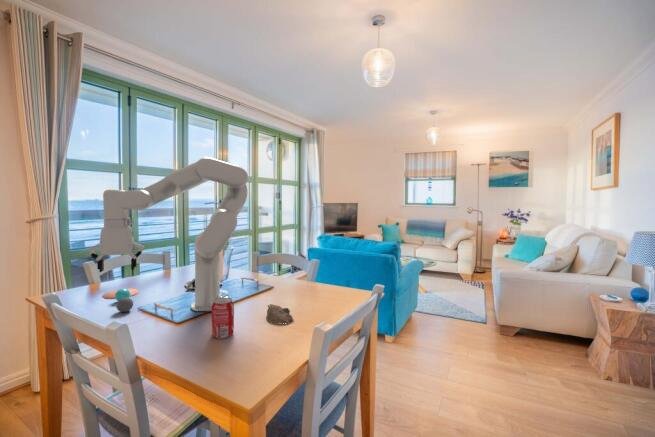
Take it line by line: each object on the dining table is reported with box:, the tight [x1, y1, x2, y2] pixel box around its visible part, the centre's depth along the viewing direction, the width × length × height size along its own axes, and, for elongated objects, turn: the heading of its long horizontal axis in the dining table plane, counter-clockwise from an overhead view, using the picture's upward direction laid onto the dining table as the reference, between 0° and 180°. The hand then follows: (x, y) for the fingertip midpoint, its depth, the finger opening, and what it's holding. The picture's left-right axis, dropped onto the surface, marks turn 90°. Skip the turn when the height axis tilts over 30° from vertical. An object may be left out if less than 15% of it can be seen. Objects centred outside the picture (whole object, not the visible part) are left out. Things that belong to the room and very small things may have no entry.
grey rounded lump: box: [115, 297, 134, 313], centre depth 118 cm, size 6×6×6 cm
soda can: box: [211, 296, 235, 340], centre depth 100 cm, size 7×7×12 cm
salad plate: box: [184, 277, 223, 292], centre depth 156 cm, size 19×18×5 cm
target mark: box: [102, 288, 140, 300], centre depth 139 cm, size 14×14×1 cm
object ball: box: [115, 288, 131, 302], centre depth 129 cm, size 6×6×6 cm
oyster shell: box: [265, 303, 294, 325], centre depth 116 cm, size 10×12×5 cm
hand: (117, 270), depth 111 cm, fingers open, 9 cm apart
